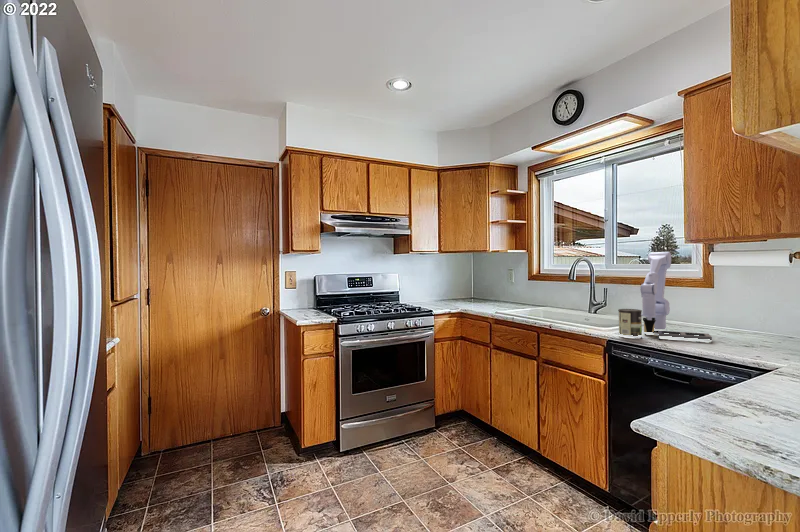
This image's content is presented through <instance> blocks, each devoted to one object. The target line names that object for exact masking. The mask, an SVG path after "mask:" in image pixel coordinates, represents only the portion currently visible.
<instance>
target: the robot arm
mask: <svg viewBox="0 0 800 532" xmlns="http://www.w3.org/2000/svg"><path fill="white" fill-rule="evenodd" d="M647 259H648V263H649V264H650V267H649V272H647V273H646V275H645V278H644V282H643V283H641V285H640V288H639V289H640V294H641V295H640V296H641V298H642V301H641V302H642V304H641V305H642V313H641V317H642V321H643V324H644V323H645V326H646V331H647V332H652V330H653V325H654V328H655V329H665V328H666V329H667V316H668V315H669V314H670V310H671V309H670V302H669V300H668V299H666V298H665V290H666V289H665V287H666V279H667V276H666V275H667V270H668V269H669V268H671V265H672V254H671V252H670V251H655V252H654V251H653V252H652V251H651V252H649V253H648V256H647Z"/></svg>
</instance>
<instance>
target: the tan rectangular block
mask: <svg viewBox="0 0 800 532" xmlns="http://www.w3.org/2000/svg"><path fill="white" fill-rule="evenodd" d="M644 332H647V331H646V326H645V323H644V322H643V333H644ZM652 332H654V325H653V330H652ZM654 333H655V332H654Z"/></svg>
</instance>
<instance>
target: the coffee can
mask: <svg viewBox="0 0 800 532" xmlns="http://www.w3.org/2000/svg"><path fill="white" fill-rule="evenodd" d="M642 313H643V309H642V310H641V309H638V308H637V309H636V308H618V334H619V333H620V334H623V335H633V336H638V335H642V336H643V332H642V330H643V328H642V327H643V326H642V321H643V317H642V316H641V314H642Z"/></svg>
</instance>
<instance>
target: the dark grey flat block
mask: <svg viewBox="0 0 800 532" xmlns="http://www.w3.org/2000/svg"><path fill="white" fill-rule="evenodd" d="M664 333H669V334H664ZM658 334H659V336H672V337H684V338H698V339H710V340H712V341H713V336H712V335H711V334H709V333H703V332H689V331H688V332H686V331H673V330H672V331H671V330H667V331H658V332H657V335H658ZM679 334H680V335H679ZM694 335H699V336H694Z"/></svg>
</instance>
